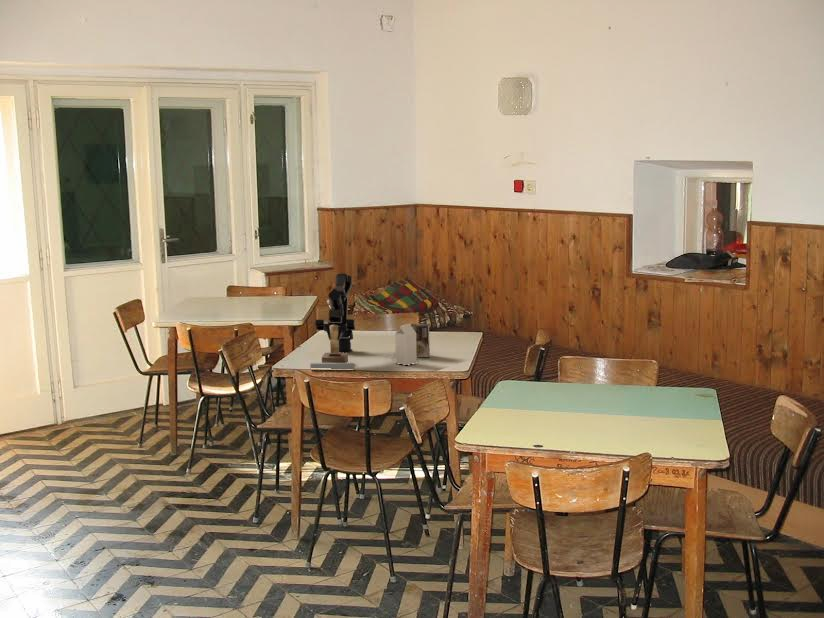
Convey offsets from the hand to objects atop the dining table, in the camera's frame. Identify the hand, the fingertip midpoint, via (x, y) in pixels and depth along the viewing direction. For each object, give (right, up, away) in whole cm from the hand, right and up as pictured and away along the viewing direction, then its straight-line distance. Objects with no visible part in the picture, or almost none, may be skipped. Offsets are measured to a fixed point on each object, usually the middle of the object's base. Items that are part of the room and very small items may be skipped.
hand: (334, 339), depth 452 cm
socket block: (0, -12, +4) cm, 13 cm away
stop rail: (0, -14, -6) cm, 16 cm away
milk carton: (+34, -12, +5) cm, 36 cm away
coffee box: (+41, -9, +19) cm, 46 cm away
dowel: (0, -6, +2) cm, 7 cm away
